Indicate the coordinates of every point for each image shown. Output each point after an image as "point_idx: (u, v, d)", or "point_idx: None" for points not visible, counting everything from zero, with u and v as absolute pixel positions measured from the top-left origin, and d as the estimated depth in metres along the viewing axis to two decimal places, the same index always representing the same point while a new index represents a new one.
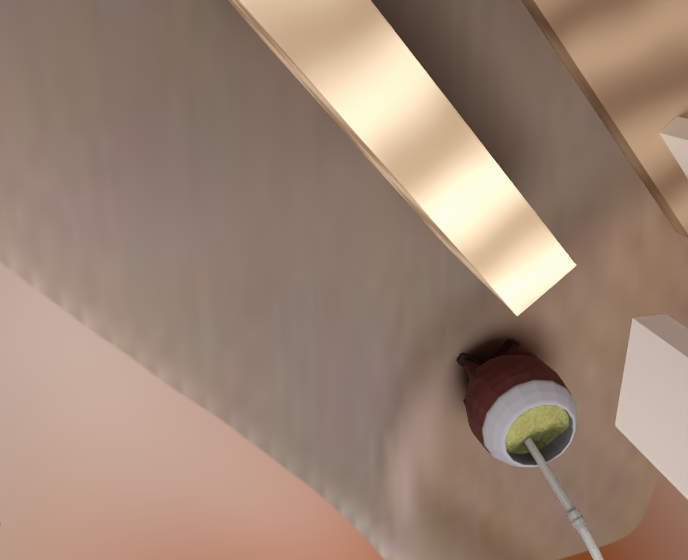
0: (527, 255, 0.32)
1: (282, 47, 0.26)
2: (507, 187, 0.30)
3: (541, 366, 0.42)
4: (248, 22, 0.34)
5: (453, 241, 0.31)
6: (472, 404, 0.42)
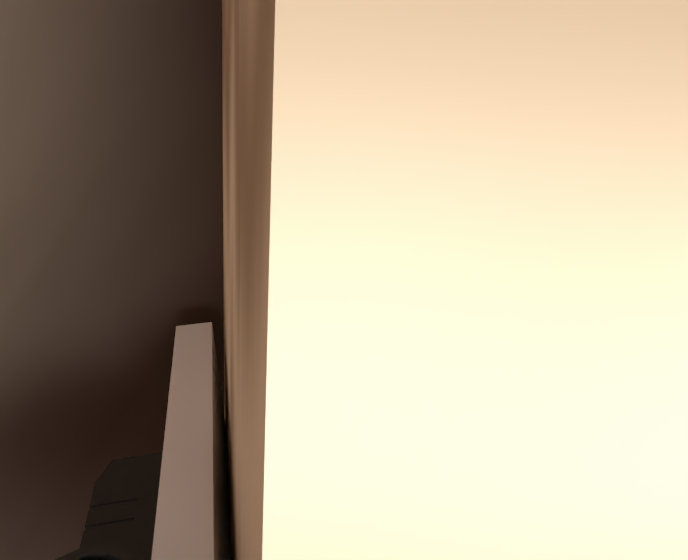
0: None
1: None
2: (330, 327, 0.03)
3: None
4: None
5: None
6: None
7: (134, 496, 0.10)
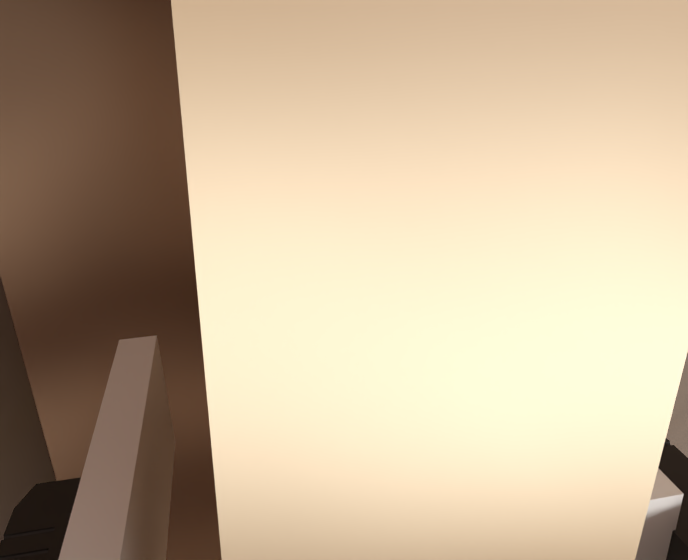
0: None
1: None
2: (241, 267, 0.04)
3: None
4: None
5: None
6: None
7: (52, 524, 0.09)
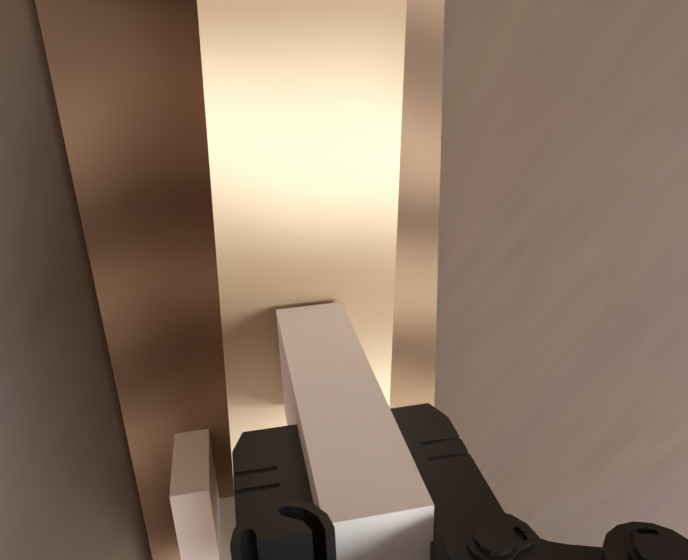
0: None
1: None
2: (220, 102, 0.12)
3: None
4: None
5: (399, 88, 0.13)
6: None
7: (273, 464, 0.10)
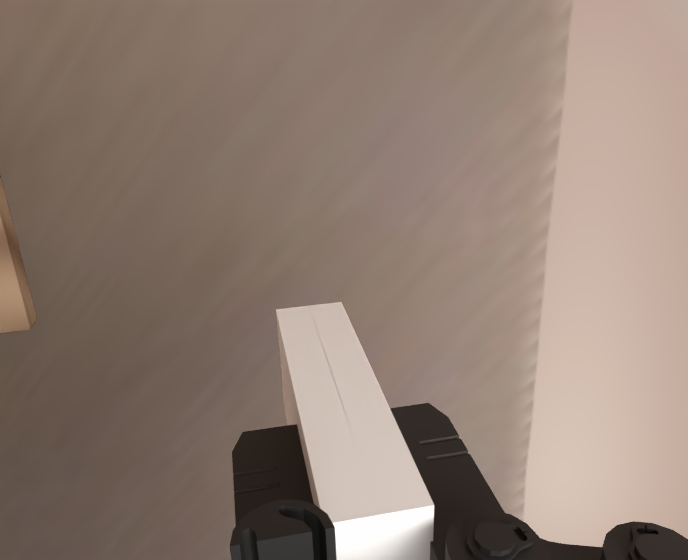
0: None
1: None
2: None
3: None
4: None
5: None
6: None
7: (273, 464, 0.10)
